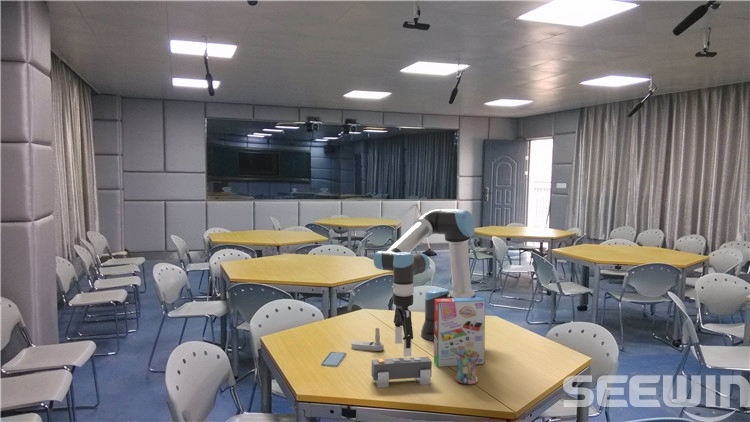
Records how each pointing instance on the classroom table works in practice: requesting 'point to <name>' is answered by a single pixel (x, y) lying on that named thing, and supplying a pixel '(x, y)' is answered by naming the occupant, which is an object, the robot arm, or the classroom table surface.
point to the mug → (466, 366)
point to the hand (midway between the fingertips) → (402, 349)
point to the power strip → (401, 367)
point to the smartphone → (333, 359)
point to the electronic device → (369, 343)
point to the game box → (458, 329)
